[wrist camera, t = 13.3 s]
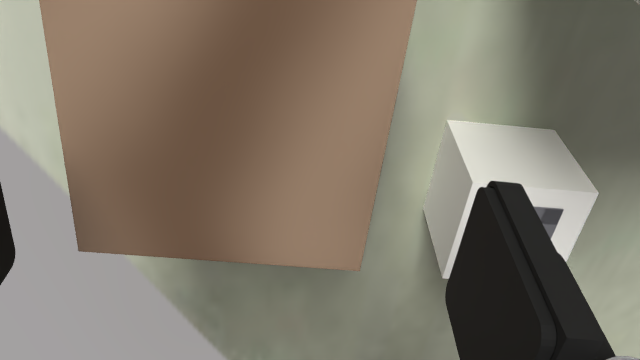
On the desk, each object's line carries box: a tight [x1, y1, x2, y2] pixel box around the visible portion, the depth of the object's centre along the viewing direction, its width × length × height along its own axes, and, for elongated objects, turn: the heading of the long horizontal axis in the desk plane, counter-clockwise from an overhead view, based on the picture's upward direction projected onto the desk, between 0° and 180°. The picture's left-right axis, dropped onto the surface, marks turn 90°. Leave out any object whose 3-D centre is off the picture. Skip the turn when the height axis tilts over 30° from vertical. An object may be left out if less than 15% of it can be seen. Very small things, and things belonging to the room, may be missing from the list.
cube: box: [423, 120, 599, 279], centre depth 21 cm, size 4×4×4 cm
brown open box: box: [39, 0, 417, 271], centre depth 16 cm, size 7×7×7 cm
